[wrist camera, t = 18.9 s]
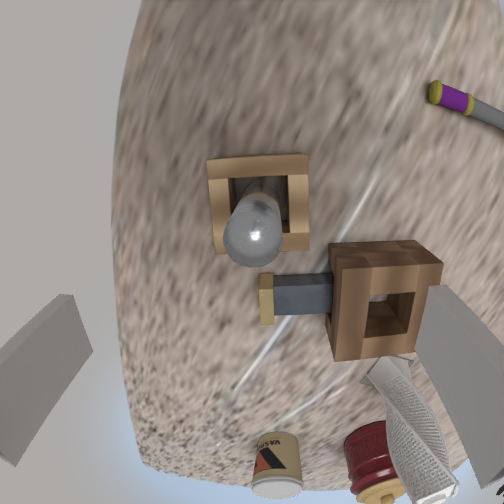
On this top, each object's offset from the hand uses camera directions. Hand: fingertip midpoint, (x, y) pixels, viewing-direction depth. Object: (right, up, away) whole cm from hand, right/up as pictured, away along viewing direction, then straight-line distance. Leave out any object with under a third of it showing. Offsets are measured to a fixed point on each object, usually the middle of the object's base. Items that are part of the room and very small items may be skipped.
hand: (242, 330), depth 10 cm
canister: (+26, -36, +40) cm, 60 cm away
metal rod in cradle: (+1, +9, +25) cm, 27 cm away
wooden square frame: (+1, +9, +25) cm, 27 cm away
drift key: (+7, -2, +29) cm, 30 cm away
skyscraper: (+22, -16, +34) cm, 44 cm away
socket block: (+16, -2, +28) cm, 32 cm away
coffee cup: (+5, -35, +41) cm, 54 cm away
